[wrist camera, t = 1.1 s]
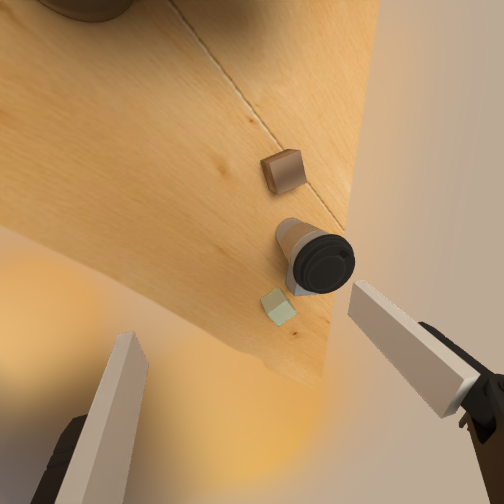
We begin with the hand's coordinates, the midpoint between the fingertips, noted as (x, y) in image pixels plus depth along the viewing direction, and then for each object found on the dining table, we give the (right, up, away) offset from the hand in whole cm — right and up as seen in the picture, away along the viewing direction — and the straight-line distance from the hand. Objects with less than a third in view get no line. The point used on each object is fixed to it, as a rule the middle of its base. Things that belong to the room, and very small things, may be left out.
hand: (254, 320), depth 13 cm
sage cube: (+5, -7, +38) cm, 38 cm away
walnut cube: (+4, +18, +25) cm, 31 cm away
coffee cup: (+7, +8, +31) cm, 33 cm away
